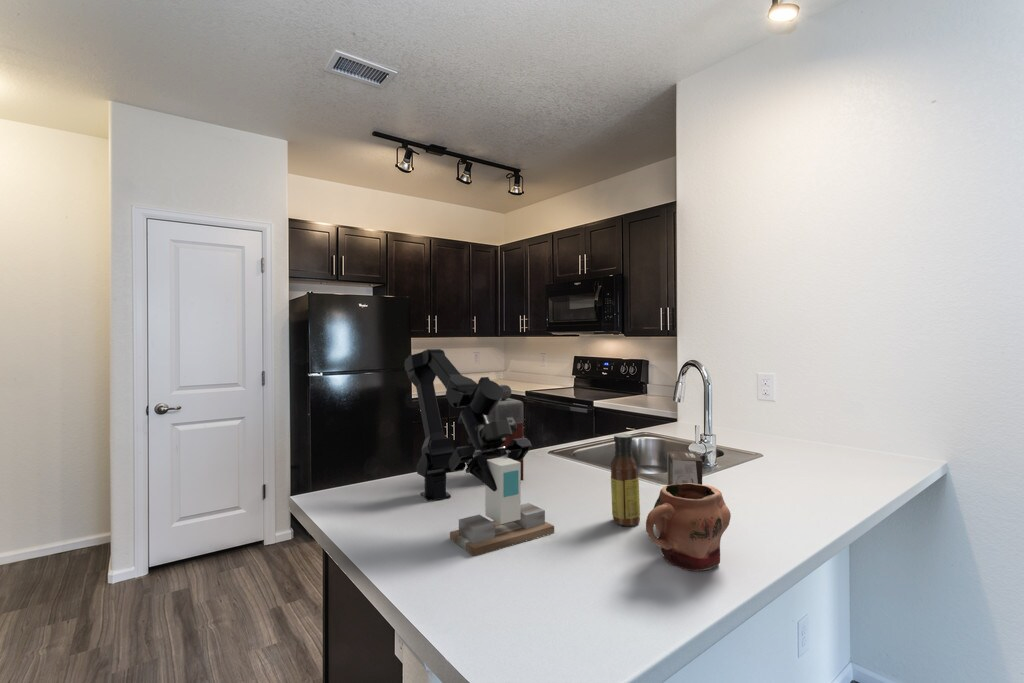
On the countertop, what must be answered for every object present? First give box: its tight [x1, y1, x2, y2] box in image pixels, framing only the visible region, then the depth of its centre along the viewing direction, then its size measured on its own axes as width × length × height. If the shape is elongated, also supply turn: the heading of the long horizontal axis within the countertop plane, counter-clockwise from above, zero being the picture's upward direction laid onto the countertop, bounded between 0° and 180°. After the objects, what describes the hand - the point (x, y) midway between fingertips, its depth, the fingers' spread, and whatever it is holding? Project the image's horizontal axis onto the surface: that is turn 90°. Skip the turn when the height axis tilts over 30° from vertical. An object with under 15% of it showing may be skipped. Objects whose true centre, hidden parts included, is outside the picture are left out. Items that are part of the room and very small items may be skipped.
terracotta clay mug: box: [645, 483, 732, 572], centre depth 92 cm, size 20×12×14 cm, turn 125°
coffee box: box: [666, 450, 703, 485], centre depth 110 cm, size 9×6×16 cm
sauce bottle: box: [610, 433, 641, 527], centre depth 113 cm, size 6×6×20 cm
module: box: [484, 457, 522, 524], centre depth 105 cm, size 6×5×12 cm
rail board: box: [449, 502, 555, 557], centre depth 105 cm, size 10×20×4 cm, turn 125°
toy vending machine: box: [487, 384, 524, 481], centre depth 150 cm, size 9×11×28 cm
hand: (506, 488), depth 104 cm, fingers closed on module, 5 cm apart
